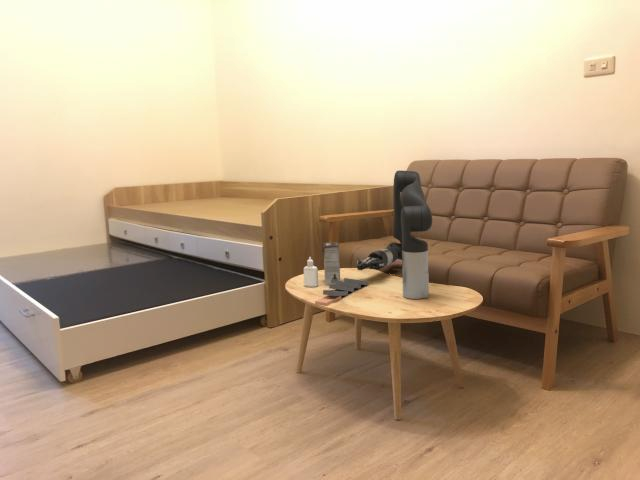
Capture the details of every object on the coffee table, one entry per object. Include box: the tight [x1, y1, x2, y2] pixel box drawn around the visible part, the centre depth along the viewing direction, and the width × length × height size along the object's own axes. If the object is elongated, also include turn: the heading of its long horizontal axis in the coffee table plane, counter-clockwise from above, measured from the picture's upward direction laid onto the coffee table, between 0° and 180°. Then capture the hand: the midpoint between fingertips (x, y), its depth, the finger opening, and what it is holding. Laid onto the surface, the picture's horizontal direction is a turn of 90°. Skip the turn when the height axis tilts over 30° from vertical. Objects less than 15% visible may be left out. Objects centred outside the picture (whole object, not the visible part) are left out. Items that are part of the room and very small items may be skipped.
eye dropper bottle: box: [303, 256, 319, 288], centre depth 214 cm, size 4×6×12 cm
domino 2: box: [314, 295, 342, 307], centre depth 195 cm, size 2×5×10 cm
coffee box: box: [323, 241, 341, 286], centre depth 219 cm, size 9×6×16 cm
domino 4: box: [335, 280, 362, 289], centre depth 206 cm, size 2×5×10 cm
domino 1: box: [322, 289, 349, 297], centre depth 198 cm, size 2×5×10 cm
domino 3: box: [328, 284, 355, 293], centre depth 202 cm, size 2×5×10 cm
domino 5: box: [343, 277, 369, 286], centre depth 210 cm, size 2×5×10 cm
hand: (359, 267), depth 211 cm, fingers closed
